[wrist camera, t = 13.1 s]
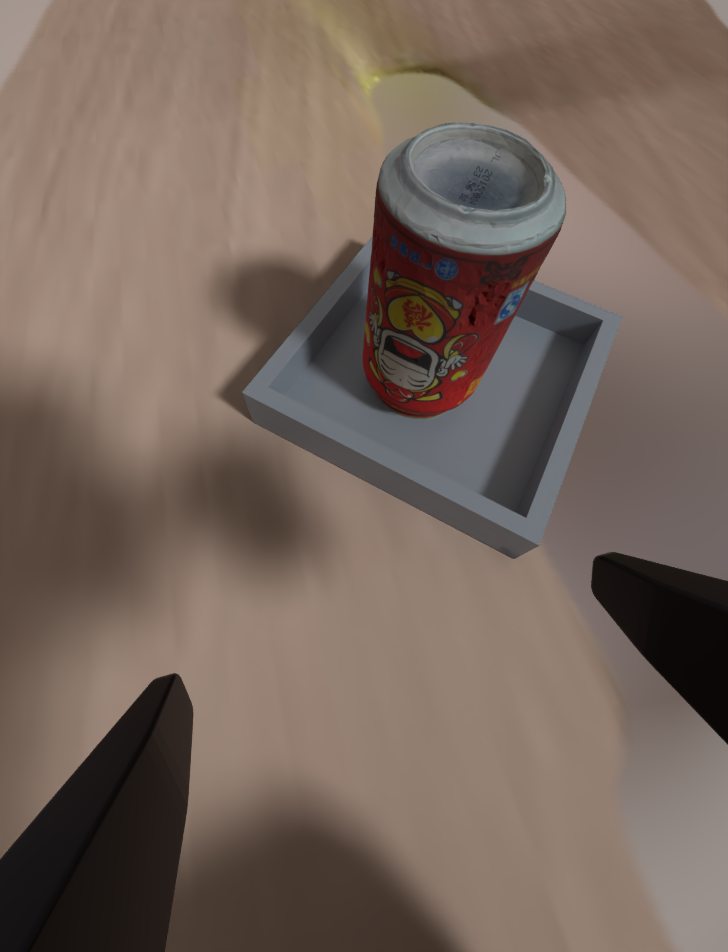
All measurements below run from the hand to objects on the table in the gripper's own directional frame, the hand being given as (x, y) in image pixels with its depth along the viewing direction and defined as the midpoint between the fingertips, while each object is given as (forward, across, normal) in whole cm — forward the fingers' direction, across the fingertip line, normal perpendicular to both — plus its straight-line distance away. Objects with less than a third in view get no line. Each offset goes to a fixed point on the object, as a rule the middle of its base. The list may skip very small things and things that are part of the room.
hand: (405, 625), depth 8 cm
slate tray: (+18, -8, -2) cm, 20 cm away
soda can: (+18, -7, -2) cm, 19 cm away
